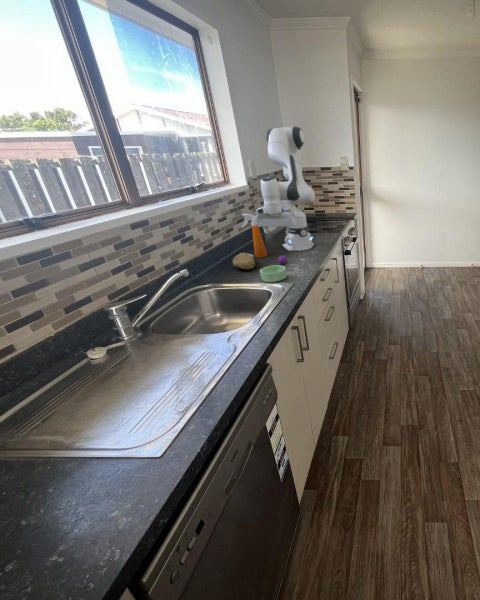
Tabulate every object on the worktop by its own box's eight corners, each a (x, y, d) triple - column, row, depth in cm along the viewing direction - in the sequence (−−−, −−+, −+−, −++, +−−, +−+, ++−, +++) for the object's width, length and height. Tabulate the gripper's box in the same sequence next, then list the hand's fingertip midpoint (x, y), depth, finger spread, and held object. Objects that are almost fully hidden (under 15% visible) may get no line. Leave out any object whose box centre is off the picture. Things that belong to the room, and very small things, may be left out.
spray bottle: (247, 256, 202) (238, 213, 191) (265, 253, 207) (257, 211, 196) (250, 259, 196) (240, 215, 185) (268, 256, 202) (260, 212, 190)
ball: (277, 264, 188) (275, 255, 186) (285, 262, 191) (283, 253, 189) (281, 266, 185) (279, 257, 183) (289, 263, 188) (288, 255, 186)
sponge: (237, 264, 192) (225, 269, 173) (237, 251, 190) (226, 254, 171) (260, 267, 195) (252, 271, 176) (261, 254, 193) (253, 257, 174)
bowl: (257, 278, 168) (255, 269, 166) (279, 272, 175) (278, 263, 173) (268, 285, 160) (266, 275, 158) (291, 278, 168) (289, 269, 165)
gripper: (294, 207, 178) (298, 232, 183) (257, 208, 178) (262, 233, 184) (291, 209, 172) (295, 235, 178) (252, 210, 172) (257, 236, 178)
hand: (278, 234), depth 181 cm, fingers open, 8 cm apart
